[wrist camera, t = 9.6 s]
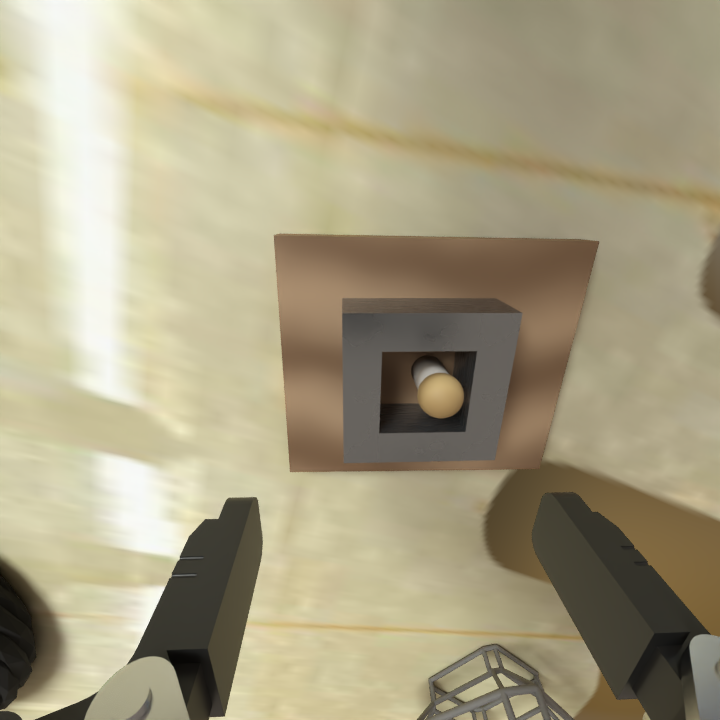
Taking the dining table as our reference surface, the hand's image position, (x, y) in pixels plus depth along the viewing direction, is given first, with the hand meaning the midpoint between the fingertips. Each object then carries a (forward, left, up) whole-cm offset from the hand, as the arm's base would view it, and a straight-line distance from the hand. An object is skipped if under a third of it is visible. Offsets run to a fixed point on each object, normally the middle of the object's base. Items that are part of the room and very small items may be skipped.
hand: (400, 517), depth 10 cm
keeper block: (0, +3, -12) cm, 12 cm away
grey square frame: (0, +2, -11) cm, 11 cm away
